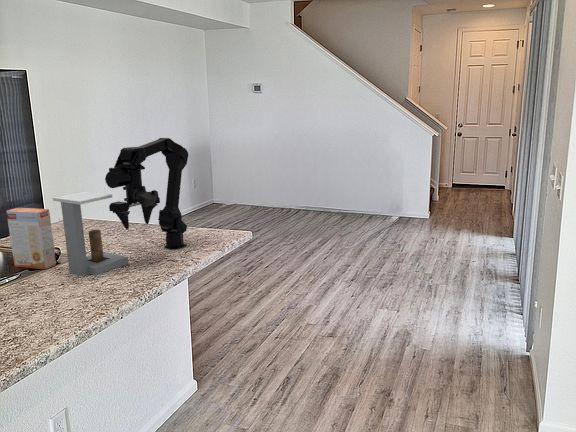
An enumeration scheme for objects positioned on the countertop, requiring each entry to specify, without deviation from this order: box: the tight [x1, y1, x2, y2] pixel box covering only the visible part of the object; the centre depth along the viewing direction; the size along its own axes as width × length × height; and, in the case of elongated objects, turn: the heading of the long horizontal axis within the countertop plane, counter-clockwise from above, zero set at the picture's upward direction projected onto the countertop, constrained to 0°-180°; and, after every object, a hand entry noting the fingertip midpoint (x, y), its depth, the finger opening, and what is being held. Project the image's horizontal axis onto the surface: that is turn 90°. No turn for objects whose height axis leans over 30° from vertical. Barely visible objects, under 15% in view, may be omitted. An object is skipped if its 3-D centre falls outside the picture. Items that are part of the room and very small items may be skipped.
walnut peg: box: [88, 229, 104, 263], centre depth 185 cm, size 4×4×13 cm
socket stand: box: [52, 191, 129, 277], centre depth 183 cm, size 17×14×26 cm
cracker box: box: [6, 207, 57, 270], centre depth 186 cm, size 14×6×21 cm, turn 71°
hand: (137, 226), depth 188 cm, fingers open, 9 cm apart
